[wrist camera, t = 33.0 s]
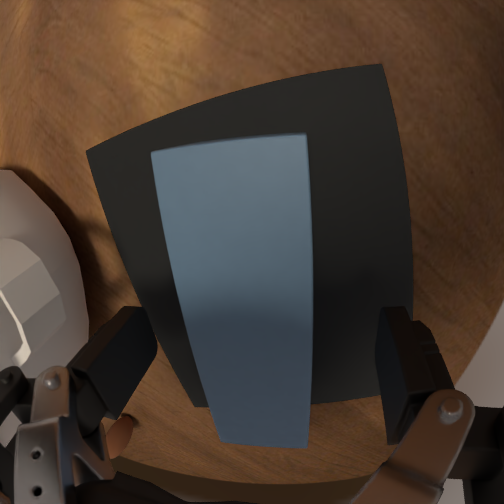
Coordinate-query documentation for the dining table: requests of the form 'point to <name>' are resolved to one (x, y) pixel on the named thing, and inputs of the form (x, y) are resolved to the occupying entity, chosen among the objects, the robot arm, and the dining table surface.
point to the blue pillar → (244, 278)
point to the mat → (322, 208)
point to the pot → (36, 288)
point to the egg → (119, 436)
